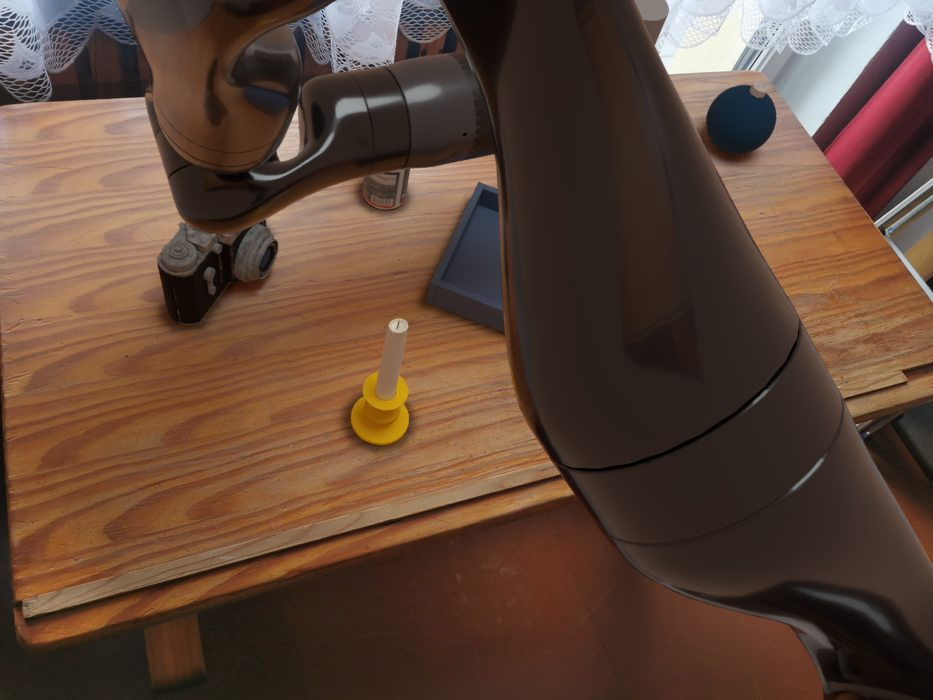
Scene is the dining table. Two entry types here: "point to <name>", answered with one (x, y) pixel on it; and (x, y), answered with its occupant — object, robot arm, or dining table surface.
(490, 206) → the tray
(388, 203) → the pill bottle
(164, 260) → the camera
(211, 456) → the dining table surface
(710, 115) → the christmas ornament
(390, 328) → the candle
